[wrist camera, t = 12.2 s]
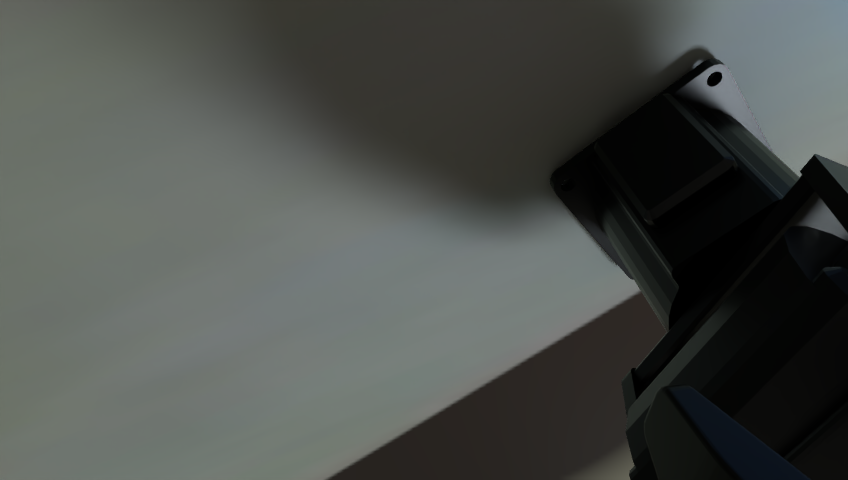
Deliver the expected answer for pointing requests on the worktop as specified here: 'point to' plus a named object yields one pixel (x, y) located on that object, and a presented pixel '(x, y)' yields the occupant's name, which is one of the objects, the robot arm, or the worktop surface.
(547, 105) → the worktop surface
